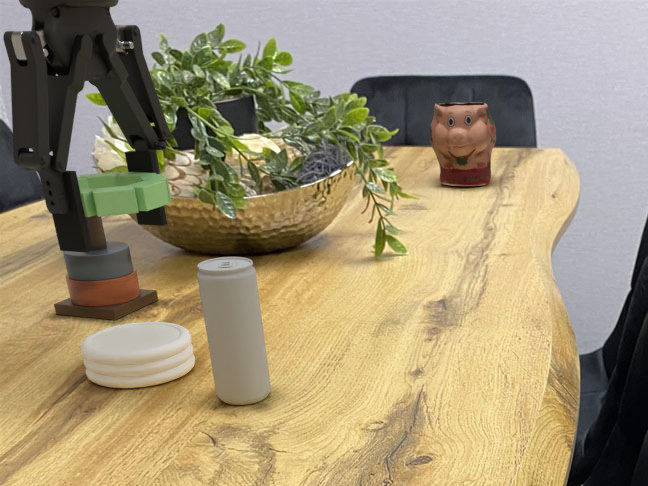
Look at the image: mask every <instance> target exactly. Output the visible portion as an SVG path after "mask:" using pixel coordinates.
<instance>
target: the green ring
mask: <svg viewBox="0 0 648 486" xmlns="http://www.w3.org/2000/svg"><path fill="white" fill-rule="evenodd" d="M77 179H78V184H79V189H80V195H81V199H82V204H83V209H84V214H85V217H91V216H94V215H97V216H98V217H101V218H102V217H111V216H121V215H122V216H123V215H130V214H136V213H138V212H139V211H149V210H152V209H155V208H158V207H161V206H164V207H165V206H168V205H170V203H172V196H171V189H170V184H169V179H168V178H167V177H165V175H163V174H162V173H160V174H156V173H146V172H128V171H123V172H118V171H112V172H100V173H99V172H98V173H87V174H79V176H77ZM50 214H51V215H52V213H50Z"/></svg>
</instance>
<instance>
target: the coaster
mask: <svg viewBox="0 0 648 486" xmlns="http://www.w3.org/2000/svg"><path fill="white" fill-rule="evenodd" d="M80 353H81V354H82V357H83V358H82V363H83V365H84V367H85V375H86V377H87V378H88V380H89V381H90V382H92V383H94V384H95V385H99V386H101V387H106V388H112V389H113V388H114V389H135V388H145V387H152V386H158V385H162V384H165V383H168V382H171V381H174V380H177V379H179V378H181V377H183V376H185V375H187V374H188V373H189V372H191V370H192V369H193V368H194V367H195V363H196V357H195V355H194V346H193V344H192V334H191V332H190V331H189V330H188V328H186V327H185V326H182V325H180V324H178V323H173V322H166V321H139V322H131V323H130V322H129V323H123V324H118V325H113V326H109V327H105V328H103V329H100V330H97V331H94V332H93V333H91V334H89V335H88V336H86V337H85V338H84V339H83V340H82V342H81V343H80Z"/></svg>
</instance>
